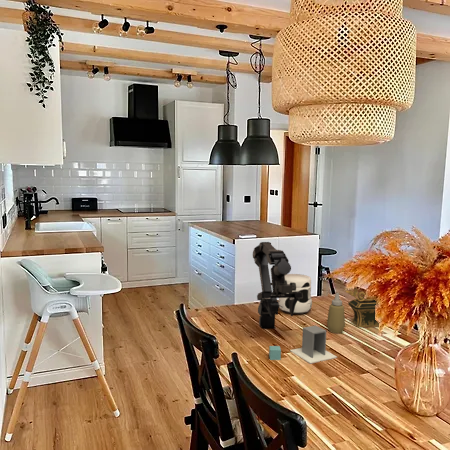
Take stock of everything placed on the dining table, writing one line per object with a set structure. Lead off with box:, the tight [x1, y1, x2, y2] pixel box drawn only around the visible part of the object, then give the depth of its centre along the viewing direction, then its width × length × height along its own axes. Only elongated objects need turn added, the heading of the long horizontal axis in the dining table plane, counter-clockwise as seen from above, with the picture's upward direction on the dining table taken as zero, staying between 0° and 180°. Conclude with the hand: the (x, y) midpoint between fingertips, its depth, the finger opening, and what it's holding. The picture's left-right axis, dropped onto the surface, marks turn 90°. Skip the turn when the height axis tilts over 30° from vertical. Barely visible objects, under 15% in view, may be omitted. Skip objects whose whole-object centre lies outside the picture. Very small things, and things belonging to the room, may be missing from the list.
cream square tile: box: [290, 347, 338, 364], centre depth 172 cm, size 13×13×1 cm
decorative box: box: [345, 287, 380, 328], centre depth 206 cm, size 20×10×20 cm, turn 99°
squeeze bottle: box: [326, 292, 346, 334], centre depth 197 cm, size 8×8×18 cm
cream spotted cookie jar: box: [277, 273, 313, 315], centre depth 225 cm, size 17×17×18 cm
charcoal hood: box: [301, 325, 327, 358], centre depth 171 cm, size 6×6×10 cm
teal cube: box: [268, 345, 282, 361], centre depth 168 cm, size 4×4×4 cm
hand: (281, 316), depth 180 cm, fingers open, 9 cm apart
